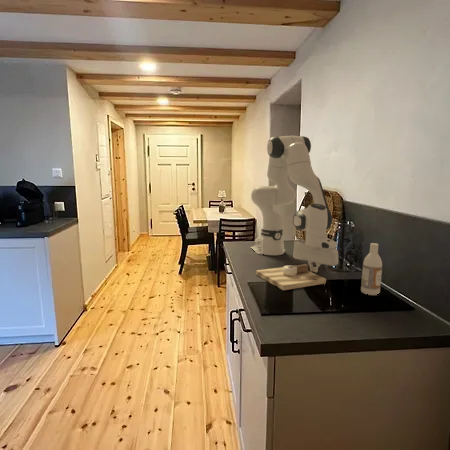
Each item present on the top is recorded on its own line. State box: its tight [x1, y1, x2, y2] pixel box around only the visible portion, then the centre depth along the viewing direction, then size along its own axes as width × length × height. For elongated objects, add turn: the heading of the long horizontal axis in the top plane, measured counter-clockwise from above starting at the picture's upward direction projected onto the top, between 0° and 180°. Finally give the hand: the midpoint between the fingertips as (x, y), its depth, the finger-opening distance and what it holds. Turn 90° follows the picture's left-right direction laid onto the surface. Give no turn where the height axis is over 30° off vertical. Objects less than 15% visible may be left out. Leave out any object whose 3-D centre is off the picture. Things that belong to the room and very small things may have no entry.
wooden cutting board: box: [255, 265, 327, 291], centre depth 147 cm, size 22×22×2 cm
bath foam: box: [360, 242, 383, 296], centre depth 130 cm, size 7×7×20 cm
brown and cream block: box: [282, 263, 309, 276], centre depth 148 cm, size 13×6×4 cm, turn 120°
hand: (313, 271), depth 147 cm, fingers closed
